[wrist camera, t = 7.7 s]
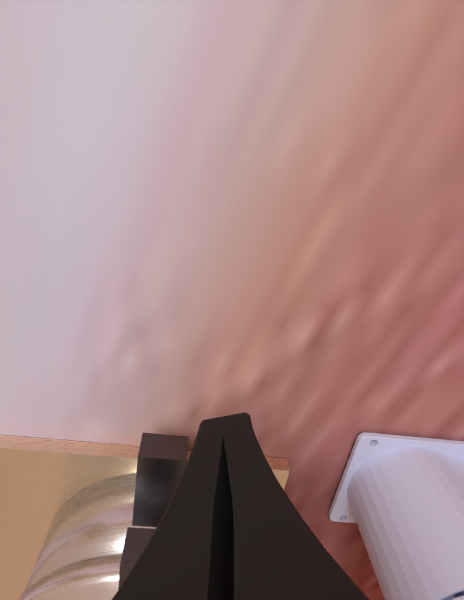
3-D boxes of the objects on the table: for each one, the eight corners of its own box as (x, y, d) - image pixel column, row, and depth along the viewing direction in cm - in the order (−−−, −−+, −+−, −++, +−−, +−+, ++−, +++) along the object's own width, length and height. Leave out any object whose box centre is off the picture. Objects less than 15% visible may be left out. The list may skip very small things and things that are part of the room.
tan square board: (300, 410, 24) (327, 495, 19) (241, 615, 33) (247, 713, 27) (-24, 379, 22) (-102, 463, 16) (5, 607, 31) (-39, 711, 25)
